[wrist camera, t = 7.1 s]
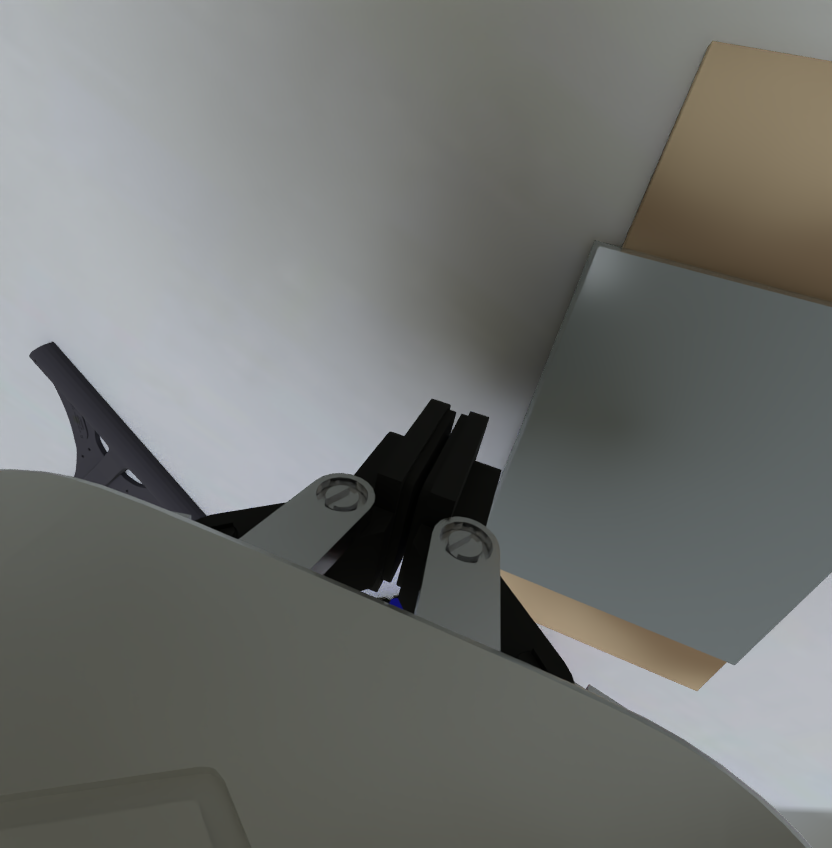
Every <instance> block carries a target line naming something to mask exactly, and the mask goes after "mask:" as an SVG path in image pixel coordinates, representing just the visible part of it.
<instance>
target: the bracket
mask: <svg viewBox="0 0 832 848" xmlns="http://www.w3.org/2000/svg"><path fill="white" fill-rule="evenodd" d="M29 357H30V358H31V359H32V360H33V361H34V363H35V364H36V365H37V366H38V367H39V368H40V369H41V370H42V371H43V373H44V374H45V375H46V376H47V377H48V378H49V379H50V380H51V382H52V383H53V384H54V386H55V388H56V390H57V392H58V394H59V396H60V398H61V400H62V403H63V405H64V407H65V410H66V412H67V415H68V418H69V421H70V424H71V427H72V431H73V434H74V439H75V443H76V447H77V464H76V472H75V476H74V477H76V478H79V479H83V480H86V481H90V482H93V483H97V484H100V485H103V486H106V487H109V488H111V489H114V490H117V491H120V492H122V493H125V494H128V495H130V496H133V497H136V498H138V499H141V500H144V501H146V502H149V503H151V504H154V505H156V506H159V507H161V508H164V509H166V510H169V511H173V512H178V513H183V514H188V515H191V520H193V521H195V520H197V519H199V518H201V517H205V516H206V515H205V514H204V513H203V512H202V511H201V510H200V508H199V507H198V506H197V505H196V504H195V503H194V502H193V501H192V499H191V498H190V497H189V496H188V495H187V494H186V493H185V491H184V490H183V489H182V488H181V487H180V486H179V485H178V483H177V482H176V481H175V480H174V479H173V478H172V477H171V475H170V474H169V473H168V472H167V471H166V470H165V469H164V467H163V466H162V465H161V464H160V463H159V462H158V461H157V459H156V458H155V457H154V456H153V455H152V454H151V453H150V451H149V450H148V449H147V448H146V447H145V446H144V445H143V444H142V442H141V441H140V440H139V439H138V438H137V437H136V436H135V434H134V433H133V432H132V431H131V430H130V429H129V428H128V426H127V425H126V424H125V423H124V422H123V421H122V420H121V418H120V417H119V416H118V415H117V414H116V413H115V412H114V410H113V409H112V408H111V407H110V406H109V405H108V404H107V402H106V401H105V400H104V399H103V398H102V397H101V396H100V395H99V393H98V392H97V391H96V390H95V389H94V388H93V387H92V385H91V384H90V383H89V382H88V381H87V380H86V379H85V377H84V376H83V375H82V374H81V373H80V372H79V371H78V369H77V368H76V367H75V366H74V365H73V364H72V363H71V361H70V360H69V359H68V358H67V357H66V356H65V355H64V353H63V352H62V351H61V350H60V349H59V348H58V347H57V346H56V344H55V343H54V342H52V343H48V344H45V345H42V346H40V347H38V348H37V349H35V350H34V351H32V352H31V353H30V355H29ZM99 435H100V437H101V438H102V439H103V440H104V441H105V442H106V444H107V445H108V447H109V451H108V452H106V450H105V448H104V447H103V445H102V443H101V440H100V437H99ZM127 469H129V470H130V471H131V472H132V473H133V474H134V475H135V476H136V477H137V478H138V479H139V480H140V481H141V482H142V484H140V483H138V482H136V481H135V480H133V479H132V478H130V477H129V476H128V475H127V474H126V473H125V471H126V470H127Z"/></svg>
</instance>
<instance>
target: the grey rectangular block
mask: <svg viewBox="0 0 832 848" xmlns="http://www.w3.org/2000/svg"><path fill="white" fill-rule="evenodd" d="M486 527H487V528H488V529H489V530H490V531H491V532H492V533H493V534H494V535H495V537H496V539H497V540H498V542H499V547H500V569H501V570H503V571H506V572H508V573H511V574H513V575H515V576H518V577H520V578H523V579H525V580H528V581H530V582H533V583H535V584H537V585H540V586H542V587H545V588H547V589H550V590H552V591H554V592H557V593H559V594H562V595H564V596H567V597H569V598H572V599H574V600H576V601H579V602H581V603H584V604H586V605H589V606H591V607H594V608H596V609H598V610H601V611H603V612H606V613H608V614H611V615H613V616H616V617H618V618H620V619H623V620H625V621H628V622H630V623H633V624H635V625H638V626H640V627H642V628H645V629H647V630H650V631H652V632H655V633H657V634H660V635H662V636H664V637H667V638H669V639H672V640H674V641H677V642H679V643H682V644H684V645H686V646H689V647H691V648H694V649H696V650H699V651H701V652H704V653H706V654H708V655H711V656H713V657H716V658H718V659H721V660H723V661H726V662H728V663H730V664H733V665H735V664H736V663H738V662H739V661H740V660H741V659H742V658H743V657H744V656H745V655H746V654H747V653H748V652H749V651H750V650H751V649H752V648H753V647H754V646H755V645H756V644H757V643H758V642H759V641H760V640H761V639H763V638H764V637H765V636H766V635H767V634H768V633H769V632H770V631H771V630H772V629H773V628H774V627H775V626H776V625H777V624H778V623H779V622H780V621H781V620H782V619H783V618H784V617H785V616H787V615H788V614H789V613H790V612H791V611H792V610H793V609H794V608H795V607H796V606H797V605H798V604H799V603H800V602H801V601H802V600H803V599H804V598H805V597H806V596H807V595H808V594H809V593H810V592H812V591H813V590H814V589H815V588H816V587H817V586H818V585H819V584H820V583H821V582H822V581H823V580H824V579H825V578H826V577H827V576H828V575H829V574H830V573H831V572H832V302H830V301H826V300H823V299H819V298H815V297H811V296H807V295H803V294H800V293H796V292H792V291H788V290H784V289H780V288H776V287H773V286H769V285H765V284H761V283H757V282H753V281H750V280H746V279H742V278H738V277H734V276H730V275H726V274H723V273H719V272H715V271H711V270H707V269H703V268H700V267H696V266H692V265H688V264H684V263H680V262H676V261H673V260H669V259H665V258H661V257H657V256H653V255H650V254H646V253H642V252H638V251H634V250H630V249H626V248H623V247H619V246H615V245H611V244H607V243H603V242H600V241H596V240H595V241H594V244H593V246H592V249H591V251H590V254H589V256H588V259H587V261H586V264H585V266H584V269H583V271H582V274H581V276H580V279H579V282H578V284H577V287H576V289H575V292H574V294H573V297H572V299H571V302H570V304H569V307H568V309H567V312H566V314H565V317H564V319H563V322H562V324H561V327H560V329H559V332H558V334H557V337H556V339H555V342H554V345H553V347H552V350H551V352H550V355H549V357H548V360H547V362H546V365H545V367H544V370H543V372H542V375H541V377H540V380H539V382H538V385H537V387H536V390H535V392H534V395H533V397H532V400H531V403H530V405H529V408H528V410H527V413H526V415H525V418H524V420H523V423H522V425H521V428H520V430H519V433H518V435H517V438H516V440H515V443H514V445H513V448H512V450H511V453H510V455H509V458H508V460H507V463H506V466H505V468H504V471H503V473H502V476H501V478H500V481H499V483H498V486H497V488H496V492H495V496H494V499H493V503H492V507H491V510H490V514H489V518H488V522H487V525H486Z"/></svg>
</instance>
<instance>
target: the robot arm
mask: <svg viewBox="0 0 832 848" xmlns="http://www.w3.org/2000/svg"><path fill="white" fill-rule="evenodd" d="M450 407H451V405H450V404H447V403H444V402H441V401H437V400H434V399H431V400H430V402H429V403H428V404H427V406H426V407H425V409H424V410H423V411H422V413H421V414H420V415H419V417H418V418H417V419H416V421H415V422H414V424H413V425H412V426H411V428H410V429H409V430H408V432H407V433H406V435H405V436H403V435H400V434H397V433H394V432H389V433H388V434H387V435H386V436H385V438H384V439H383V440H382V441H381V442H380V444H379V445H378V446H377V447H376V449H375V450H374V451H373V452H372V454H371V455H370V456H369V457H368V458H367V460H366V461H365V462H364V463H363V465H362V466H361V467H360V468H359V470H358V471H357V472H356V473H355V474H354V475H351V474H345V473H333V474H329V475H325V476H322V477H321V478H319V479H317V480H315V481H314V482H313V483H311V484H310V485H309V486H308V487H306V488H305V489H304V490H302V491H301V492H300V493H298V494H297V495H296V496H294V497H293V498H292V499H291V500H289V501H288V502H286V503H280V504H274V505H268V506H262V507H255V508H249V509H243V510H237V511H231V512H225V513H219V514H213V515H209V516H205V517H201V518H199V519H197V520H195V521H193V520H191V515H188V514H183V513H178V512H173V511H169V510H166V509H164V508H161V507H159V506H156V505H154V504H151V503H149V502H146V501H144V500H141V499H138V498H136V497H133V496H130V495H128V494H125V493H122V492H120V491H117V490H114V489H111V488H109V487H106V486H103V485H100V484H97V483H93V482H90V481H86V480H83V479H79V478H76V477H71V476H66V475H61V474H55V473H50V472H42V471H30V470H18V469H0V848H812V847H811V846H810V844H809V843H808V842H807V841H806V839H805V838H804V837H803V836H802V835H801V834H800V833H799V832H798V831H797V830H796V829H795V828H794V827H793V826H792V825H791V824H790V823H789V822H788V821H787V820H786V819H785V818H784V817H783V816H782V815H781V814H780V813H779V812H778V811H777V810H776V809H775V808H774V807H773V806H771V805H770V804H769V803H768V802H767V801H766V800H765V799H764V798H763V797H762V796H760V795H759V794H758V793H757V792H755V791H754V790H753V789H752V788H750V787H749V786H748V785H747V784H745V783H744V782H743V781H741V780H740V779H739V778H738V777H736V776H735V775H734V774H733V773H731V772H730V771H729V770H728V769H726V768H725V767H724V766H723V765H721V764H720V763H718V762H717V761H715V760H714V759H712V758H711V757H709V756H708V755H706V754H705V753H703V752H702V751H700V750H699V749H697V748H696V747H694V746H693V745H691V744H690V743H688V742H687V741H685V740H684V739H682V738H680V737H679V736H677V735H675V734H673V733H672V732H670V731H668V730H666V729H664V728H663V727H661V726H659V725H657V724H656V723H654V722H652V721H650V720H649V719H647V718H645V717H642V716H640V715H638V714H636V713H634V712H632V711H630V710H628V709H626V708H625V707H623V706H622V705H620V704H619V703H617V702H616V701H614V700H613V699H611V698H610V697H608V696H607V695H605V694H603V693H602V692H600V691H599V690H597V689H596V688H594V687H593V686H591V685H590V684H589V685H588V687H587V688H586V689H585V688H583V687H581V686H580V685H578V684H577V683H575V682H574V680H573V677H572V674H571V673H570V671H569V669H568V667H567V666H566V664H565V662H564V661H563V660H562V658H561V657H560V656H559V654H558V653H557V651H556V650H555V649H554V647H553V646H552V645H551V643H550V642H549V641H548V639H547V638H546V637H545V635H544V634H543V633H542V631H541V630H540V628H539V627H538V626H537V624H536V623H535V622H534V620H533V619H532V618H531V616H530V615H529V614H528V612H527V611H526V610H525V608H524V607H523V606H522V604H521V603H520V601H519V600H518V599H517V597H516V596H515V595H514V593H513V592H512V591H511V589H510V588H509V587H508V585H507V584H506V583H505V581H504V580H503V578H502V577H501V576H500V547H499V542H498V540H497V539H496V537H495V535H494V534H493V533H492V532H491V531H490V530H489V529H488V528H487V527H486V525H487V522H488V518H489V514H490V510H491V507H492V503H493V499H494V496H495V492H496V488H497V485H498V481H499V477H500V473H501V470H500V469H497V468H494V467H492V466H489V465H486V464H483V463H480V462H477V461H475V460H476V457H477V454H478V451H479V448H480V445H481V442H482V439H483V436H484V433H485V430H486V427H487V423H488V420H489V417H486V416H483V415H480V414H477V413H474V412H471V411H470V413H469V415H468V416H467V415H464V414H461V416H460V417H459V419H458V421H457V423H456V425H455V427H454V429H453V431H452V432H451V430H452V426H453V423H454V419H455V415H456V412H455V411H452V410H450ZM403 556H404V557H403ZM402 558H403V561H402V565H401V569H400V573H399V577H398V581H397V586H399V587H401V588H400V592H399V596H398V600H399V602H400V604H401V606H402V608H403V609H401V608H398V607H396V606H394V605H391V604H389V603H387V602H384V601H382V600H380V599H377V598H375V597H373V596H370V595H368V594H366V593H363V592H361V591H362V590H366V589H370V590H372V591H375V592H378V590H379V588H380V586H381V584H382V582H383V580H385V581H387V582H391V581H392V579H393V577H394V575H395V573H396V571H397V569H398V567H399V565H400V562H401V560H402Z"/></svg>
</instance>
